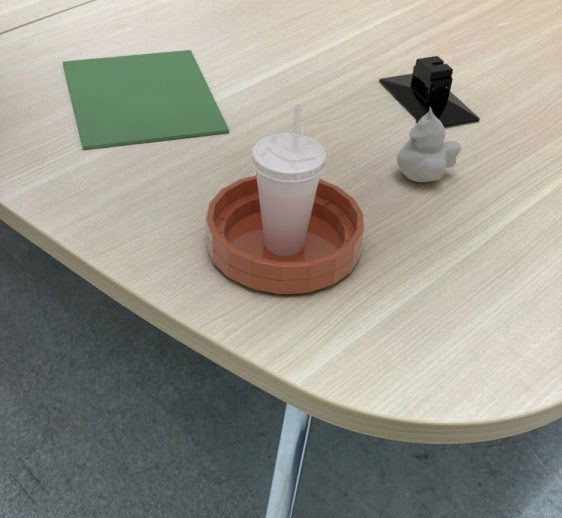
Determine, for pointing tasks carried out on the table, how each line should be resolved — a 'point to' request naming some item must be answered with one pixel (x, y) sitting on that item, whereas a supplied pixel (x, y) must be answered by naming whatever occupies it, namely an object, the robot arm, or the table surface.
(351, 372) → the table surface
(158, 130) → the cloth
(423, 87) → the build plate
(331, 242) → the bowl
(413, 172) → the rubber duck
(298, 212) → the smoothie
